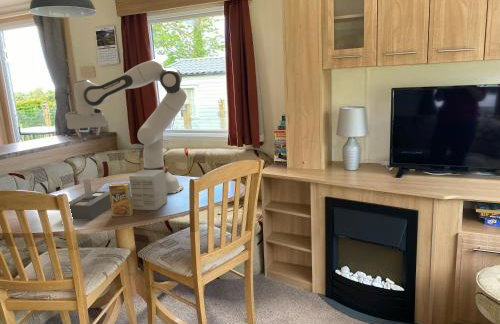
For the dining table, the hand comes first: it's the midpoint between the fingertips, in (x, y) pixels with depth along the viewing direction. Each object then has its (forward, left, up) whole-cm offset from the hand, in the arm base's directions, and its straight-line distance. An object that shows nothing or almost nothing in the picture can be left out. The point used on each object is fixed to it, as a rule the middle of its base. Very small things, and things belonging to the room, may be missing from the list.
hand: (88, 135), depth 213 cm
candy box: (-32, +31, -34) cm, 56 cm away
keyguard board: (-13, +27, -34) cm, 45 cm away
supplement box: (-40, +17, -34) cm, 55 cm away
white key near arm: (-13, +20, -31) cm, 39 cm away
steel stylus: (-13, +27, -29) cm, 42 cm away
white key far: (-13, +34, -31) cm, 48 cm away
